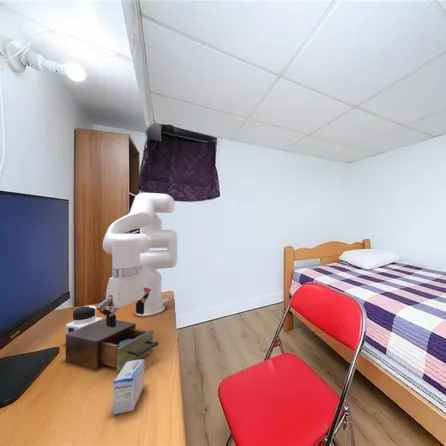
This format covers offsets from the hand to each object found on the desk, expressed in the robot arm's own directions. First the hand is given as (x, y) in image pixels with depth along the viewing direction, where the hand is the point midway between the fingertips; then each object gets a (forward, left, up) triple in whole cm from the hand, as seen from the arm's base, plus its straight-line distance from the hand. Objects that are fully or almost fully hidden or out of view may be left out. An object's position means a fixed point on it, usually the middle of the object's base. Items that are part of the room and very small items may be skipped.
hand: (126, 319), depth 75 cm
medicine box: (+13, +20, -13) cm, 27 cm away
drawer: (+1, +3, -12) cm, 12 cm away
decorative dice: (+1, +2, -11) cm, 11 cm away
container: (-3, -25, -13) cm, 29 cm away
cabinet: (+1, -9, -13) cm, 16 cm away
